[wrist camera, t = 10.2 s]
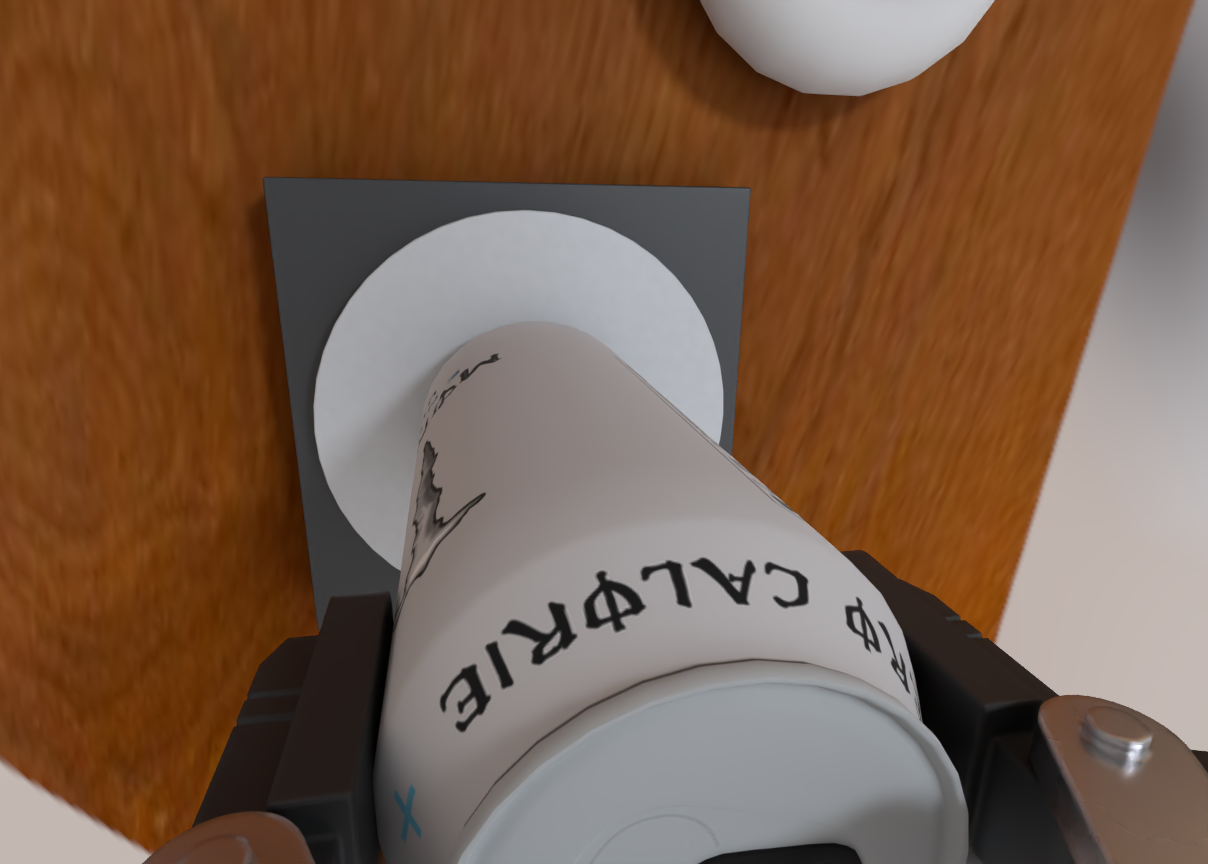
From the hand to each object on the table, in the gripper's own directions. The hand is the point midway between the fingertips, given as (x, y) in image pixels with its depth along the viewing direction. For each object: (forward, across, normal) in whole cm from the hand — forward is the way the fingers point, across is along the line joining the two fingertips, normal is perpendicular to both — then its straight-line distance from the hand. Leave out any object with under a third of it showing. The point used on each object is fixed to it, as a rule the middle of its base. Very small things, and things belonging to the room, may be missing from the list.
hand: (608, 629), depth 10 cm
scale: (+13, 0, 0) cm, 13 cm away
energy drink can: (+11, 0, 0) cm, 11 cm away
